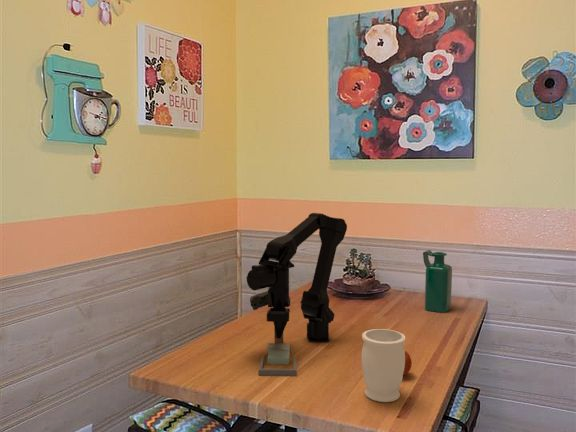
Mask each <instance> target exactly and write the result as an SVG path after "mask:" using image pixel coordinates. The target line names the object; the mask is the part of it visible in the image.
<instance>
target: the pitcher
mask: <svg viewBox="0 0 576 432" xmlns="http://www.w3.org/2000/svg"><path fill="white" fill-rule="evenodd" d="M445 256H448V254H447V253H446V252H442V251H435V252H433V251H432V250H431V249H427V250H425V251H424V252H422V258H423V263H424V266H425V267H426V268H425V281H424V283H425V284H424V286H425V287H424V309H425V310H426V311H429V312H434V313H441V314H442V313H447V312H448V311H449V310H451V307H452V285H453V283H452V282H453V268H452V266H451V265H449V264H446V263H445ZM429 257H432V258H433V257H434V261H433V263H431V261H430V259H429Z"/></svg>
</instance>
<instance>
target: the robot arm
mask: <svg viewBox="0 0 576 432" xmlns="http://www.w3.org/2000/svg"><path fill="white" fill-rule="evenodd" d="M347 228H348V225H347V223H346V220H345V219H344V218H339V217H331V216H328V215H326V214H324V213H321V212H320V213H319V212H311V213H309V215H308V216H307V217H306V218H304V220H302V221H301V222H300V223H299V224H298V225H297V226H295V227H293V229H292V230H290V231H289V232H288V233H286V234H284V235H281V236H278V237H276V238H273V239H272V240H269V242H268V243H267V244H266V245H265V246H266V248H265V249H264V251H263V253H262V255H261V257H260V259H259V261H258V264H255V265H251V270H249V271H248V273H247V276H246V283H247V286H248V287H249V288H250V290H252V291H259V290H263V289H267V288H268V289H267V291H263V292H260V293H257V294H253V295H252V296H250V299H249V302H250V306H251V308H252V310H253V311H256V310H258V309H260V308H264V307H266V306H267V308H268V309H267V311H266V322H270V323H271V322H273V326H275V331H276V335H277V338H281V336H282V334H283V335H284V331H285V328H286V326H287V324H288V322H290V311H291V309H290V308H289V307H290V306H291V297H290V269H291V268H295V264H294V263H293V262H291V260H292V259H293V258H294V256H295V255H296V253H297V251H298V247H299V246H300V245H301V244H303V243H304V242H305V241H306V240H308V239H309V238H310V237H311V236H312V235H314V234H315V233H316V232H317V231H318V236H319V239H320V242H321V244H320V248H319V253H318V257H317V262H316V265H315V270H314V273H313V279H312V283H311V285H310V286H311V287H309V289H308V290H304V291H303V292H302V296H301V300H300V301H299V303H300V310H301V311H302V316H303V318H304V319H305V320H306V319H307V320H308V322H307V323H306V338H307V339H308V342H323V343H324V342H330V337H329V336H330V335H329V333H330V332H329V331H330V330H329V328H330V327H329V326H330V324H331V323H332V322H333V321H334V319H335V316H336V315H335V312H334V311H332V309H331V308H330V307H329V306H330V298H329V297H330V296H329V294H328V286H329V281H330V279H331V272H332V269H333V264H334V260H335V255H336V252H337V247H338V246H339V245H340V243H342V242H343V240H344V239H345V236H346V232H347V230H348V229H347Z"/></svg>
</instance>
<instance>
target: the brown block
mask: <svg viewBox="0 0 576 432" xmlns="http://www.w3.org/2000/svg"><path fill="white" fill-rule="evenodd" d="M273 326H274V325H273ZM273 329H274V332H273V333H274V342H268V343H267V353H268V352H269V350H289V356H291V355H290V353H291V343H288V342H287V343H284V333H283V334H282V336H281V338H277V335H276V331H275V326H274V328H273Z"/></svg>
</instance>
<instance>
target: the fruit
mask: <svg viewBox="0 0 576 432" xmlns="http://www.w3.org/2000/svg"><path fill="white" fill-rule="evenodd" d="M404 351H405V367H404V372H403V376H405V375H406V374H408V373H409V372H410V371H411V368H412V362H413V361H412V357H411V356H410V354H409V352H407V351H406V350H404Z"/></svg>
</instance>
